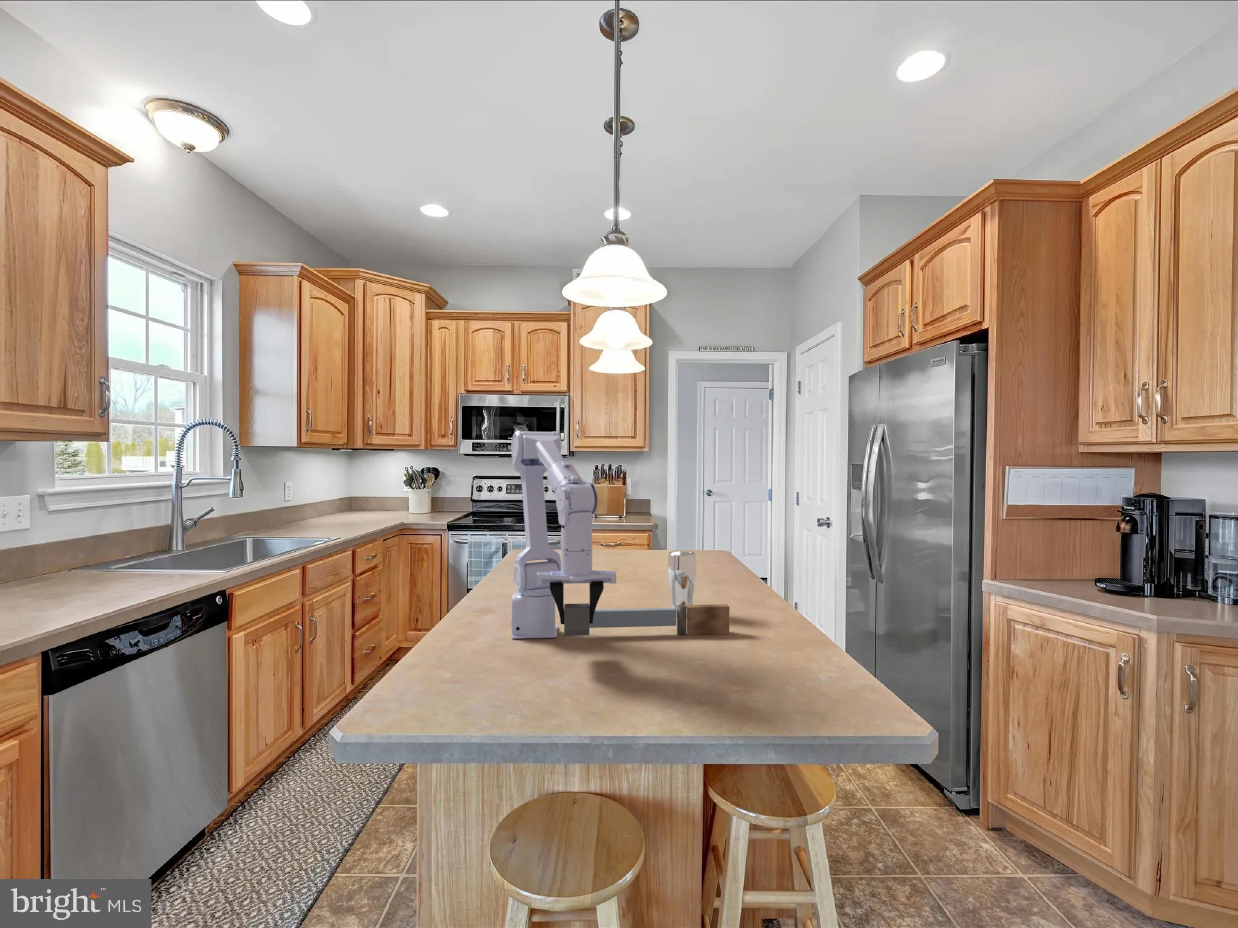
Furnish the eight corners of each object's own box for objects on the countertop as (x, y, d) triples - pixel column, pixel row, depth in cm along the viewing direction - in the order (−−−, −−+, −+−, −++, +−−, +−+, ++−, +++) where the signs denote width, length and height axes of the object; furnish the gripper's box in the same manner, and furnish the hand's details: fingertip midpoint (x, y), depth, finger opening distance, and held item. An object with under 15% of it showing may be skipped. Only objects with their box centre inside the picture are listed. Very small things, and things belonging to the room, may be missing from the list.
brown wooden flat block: (677, 635, 124) (678, 607, 124) (676, 632, 126) (676, 605, 126) (729, 633, 125) (729, 606, 125) (726, 631, 127) (726, 604, 127)
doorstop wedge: (589, 635, 103) (589, 607, 103) (564, 635, 103) (564, 608, 103) (587, 619, 113) (587, 594, 113) (564, 620, 113) (564, 594, 113)
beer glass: (697, 618, 137) (698, 555, 136) (668, 618, 137) (668, 555, 137) (694, 610, 144) (694, 550, 143) (666, 610, 144) (666, 550, 143)
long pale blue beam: (588, 627, 122) (588, 611, 122) (588, 625, 124) (588, 609, 124) (676, 625, 124) (676, 609, 124) (675, 623, 126) (675, 607, 126)
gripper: (535, 553, 101) (535, 629, 101) (617, 552, 102) (617, 627, 103) (537, 546, 108) (537, 618, 108) (614, 545, 109) (614, 616, 110)
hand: (576, 622), depth 106 cm, fingers closed on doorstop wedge, 4 cm apart
